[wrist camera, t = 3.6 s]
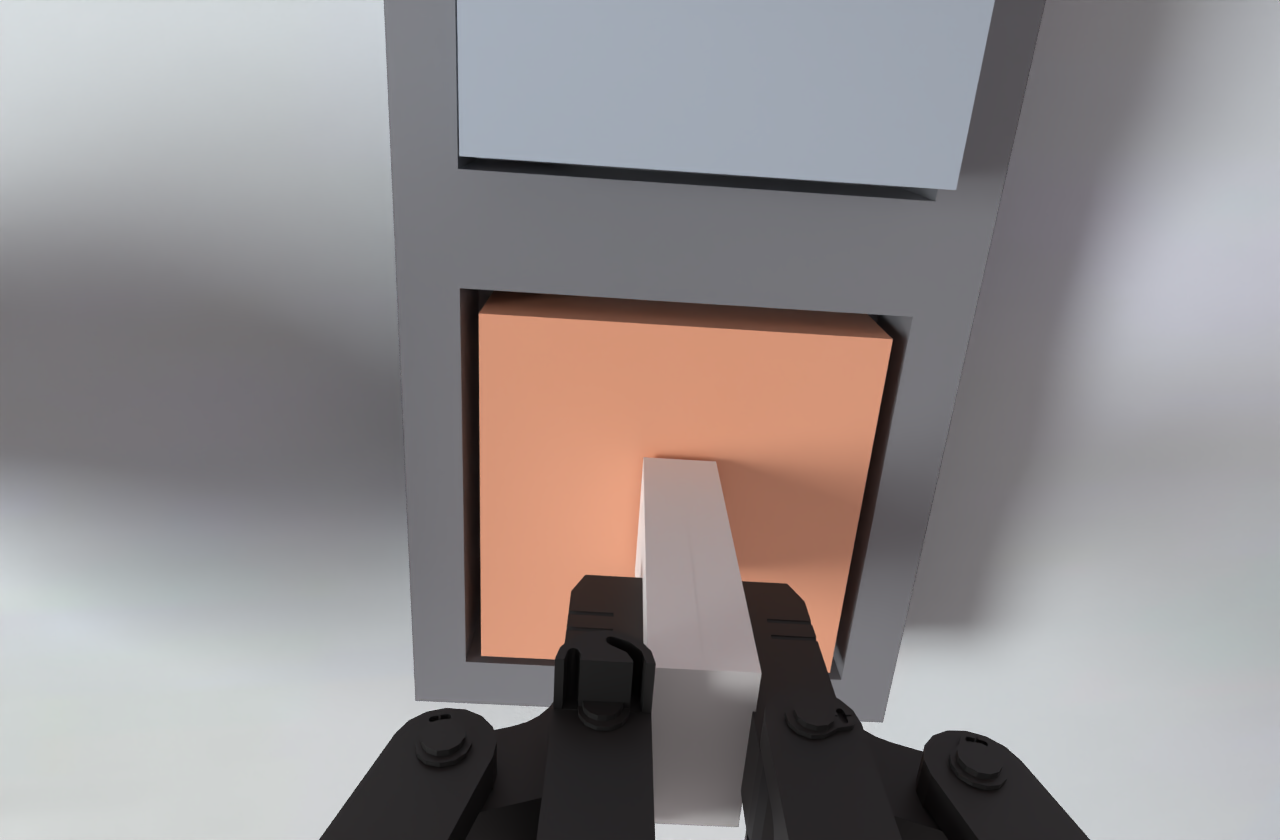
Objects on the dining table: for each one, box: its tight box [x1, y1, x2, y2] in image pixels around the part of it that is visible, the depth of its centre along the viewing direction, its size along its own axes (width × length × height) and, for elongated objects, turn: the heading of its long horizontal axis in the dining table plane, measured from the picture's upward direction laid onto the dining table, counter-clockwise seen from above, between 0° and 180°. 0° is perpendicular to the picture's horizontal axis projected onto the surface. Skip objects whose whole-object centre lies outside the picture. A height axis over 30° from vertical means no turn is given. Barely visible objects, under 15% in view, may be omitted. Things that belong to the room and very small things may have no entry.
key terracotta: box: [479, 290, 893, 673], centre depth 18 cm, size 8×8×2 cm
